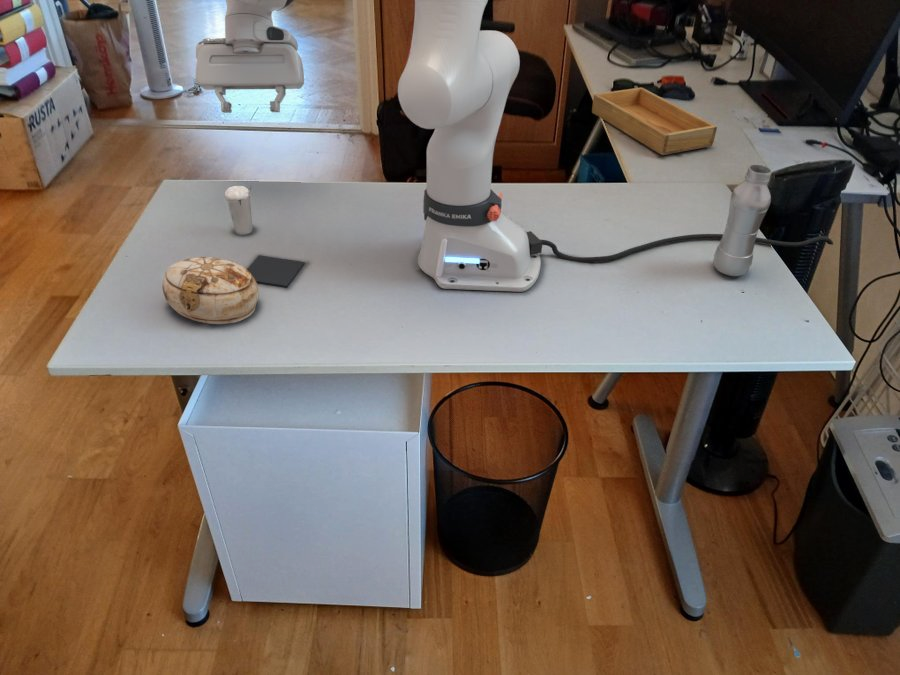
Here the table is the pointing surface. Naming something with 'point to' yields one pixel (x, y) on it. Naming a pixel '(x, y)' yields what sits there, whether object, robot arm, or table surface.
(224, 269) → the trinket box
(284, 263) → the mat
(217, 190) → the table surface
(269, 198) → the table surface
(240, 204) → the milkshake
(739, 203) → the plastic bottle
